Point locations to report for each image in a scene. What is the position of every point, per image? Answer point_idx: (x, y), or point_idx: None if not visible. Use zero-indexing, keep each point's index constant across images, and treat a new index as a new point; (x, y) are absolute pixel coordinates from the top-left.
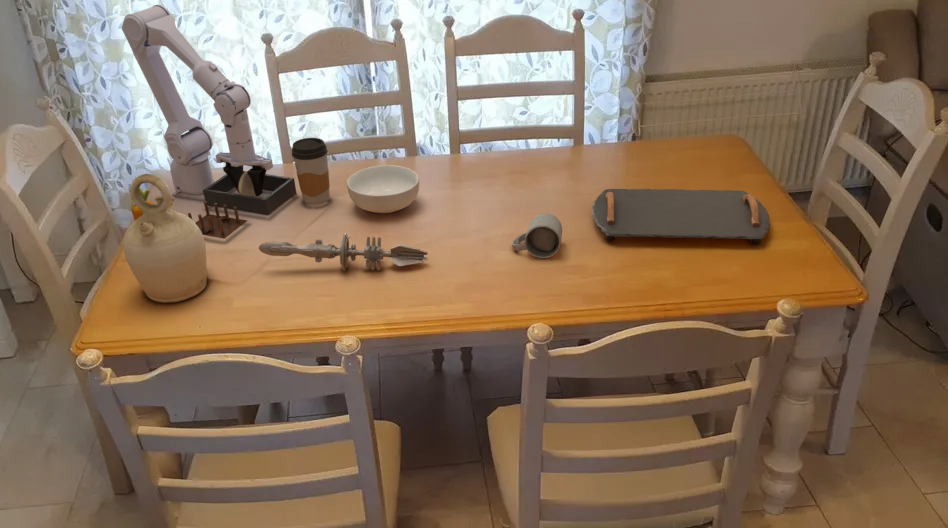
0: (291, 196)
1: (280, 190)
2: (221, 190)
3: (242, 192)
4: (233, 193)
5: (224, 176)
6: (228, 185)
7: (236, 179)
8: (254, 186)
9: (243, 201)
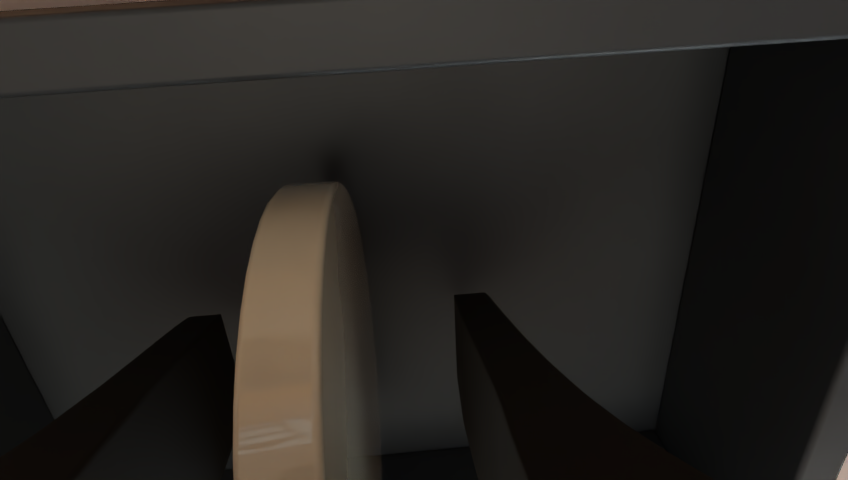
0: None
1: None
2: (743, 281)
3: (262, 223)
4: (311, 66)
5: (816, 476)
6: (715, 393)
7: (504, 443)
8: (112, 402)
9: (76, 9)
